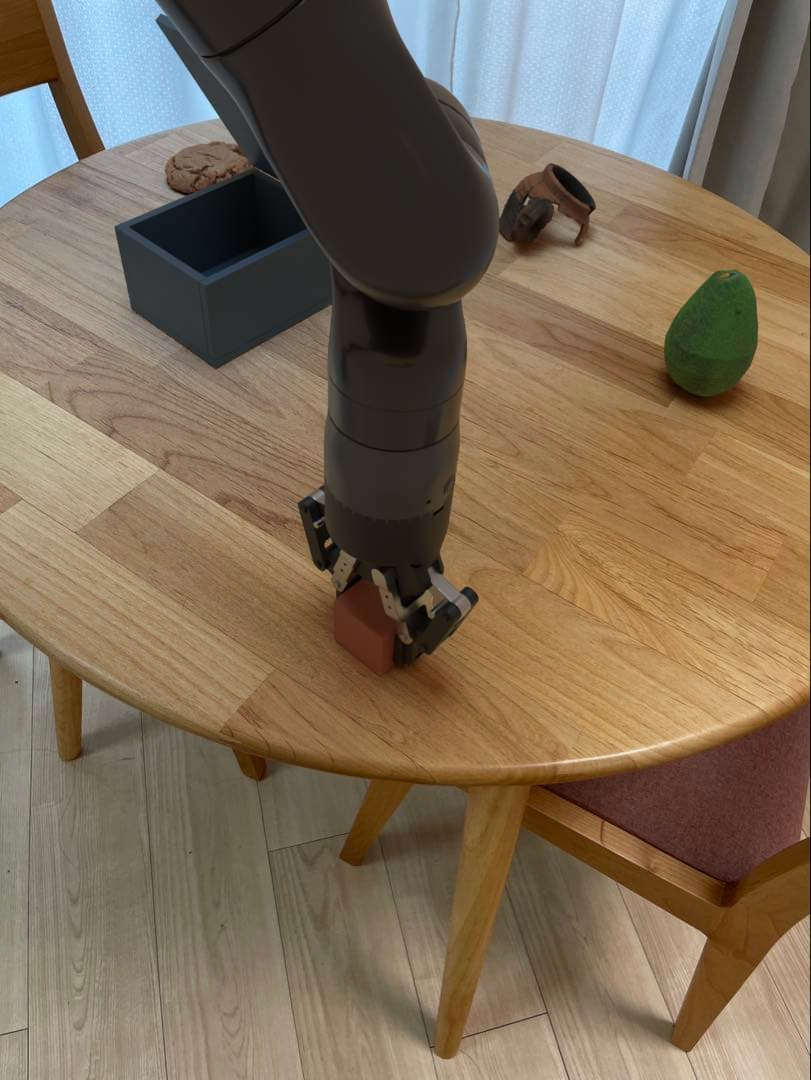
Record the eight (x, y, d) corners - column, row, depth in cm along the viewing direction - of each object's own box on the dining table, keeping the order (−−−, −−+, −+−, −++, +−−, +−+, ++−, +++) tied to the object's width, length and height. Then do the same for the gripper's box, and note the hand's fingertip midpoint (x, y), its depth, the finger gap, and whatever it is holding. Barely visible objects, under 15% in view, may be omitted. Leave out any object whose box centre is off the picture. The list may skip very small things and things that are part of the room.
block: (380, 677, 61) (382, 640, 57) (333, 638, 63) (333, 600, 59) (423, 638, 63) (429, 600, 60) (377, 601, 65) (380, 562, 62)
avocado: (700, 353, 87) (743, 244, 78) (751, 402, 83) (803, 292, 74) (634, 371, 85) (670, 261, 76) (684, 423, 80) (728, 312, 71)
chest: (215, 369, 81) (205, 285, 75) (131, 309, 86) (113, 226, 80) (343, 297, 90) (344, 216, 83) (259, 246, 95) (254, 166, 88)
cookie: (148, 179, 103) (144, 154, 100) (211, 148, 109) (209, 123, 106) (210, 209, 99) (207, 184, 97) (272, 175, 105) (271, 150, 103)
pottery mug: (505, 206, 105) (550, 149, 100) (562, 261, 105) (611, 207, 100) (474, 228, 95) (523, 166, 90) (538, 288, 96) (590, 229, 91)
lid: (259, 71, 67) (301, 19, 67) (154, 20, 72) (194, -28, 72) (342, 215, 83) (375, 173, 83) (251, 165, 88) (283, 125, 88)
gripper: (255, 436, 51) (272, 609, 64) (442, 574, 45) (419, 733, 58) (347, 379, 55) (345, 553, 68) (530, 498, 49) (489, 664, 62)
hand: (379, 635), depth 63 cm, fingers closed on block, 4 cm apart
